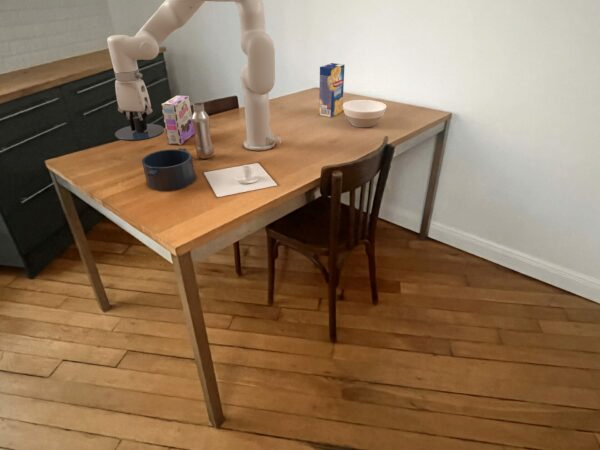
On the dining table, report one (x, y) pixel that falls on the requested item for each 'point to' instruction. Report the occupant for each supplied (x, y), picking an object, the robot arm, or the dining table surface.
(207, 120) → the metal water bottle
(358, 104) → the bowl
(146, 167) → the dark blue cooking pot
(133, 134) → the lid
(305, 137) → the dining table surface
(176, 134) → the candy box
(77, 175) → the dining table surface
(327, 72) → the blue cardboard box
